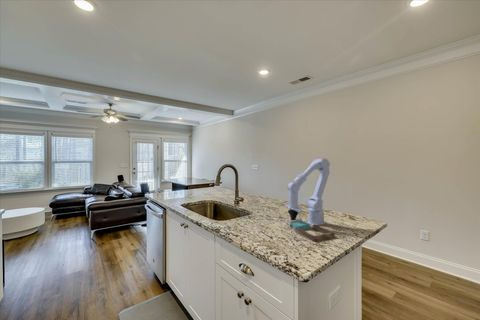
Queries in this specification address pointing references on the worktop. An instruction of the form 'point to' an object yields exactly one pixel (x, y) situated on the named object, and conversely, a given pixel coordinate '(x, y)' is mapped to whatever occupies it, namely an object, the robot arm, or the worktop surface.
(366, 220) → the worktop surface
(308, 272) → the worktop surface
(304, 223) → the teal flat block
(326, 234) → the dock
